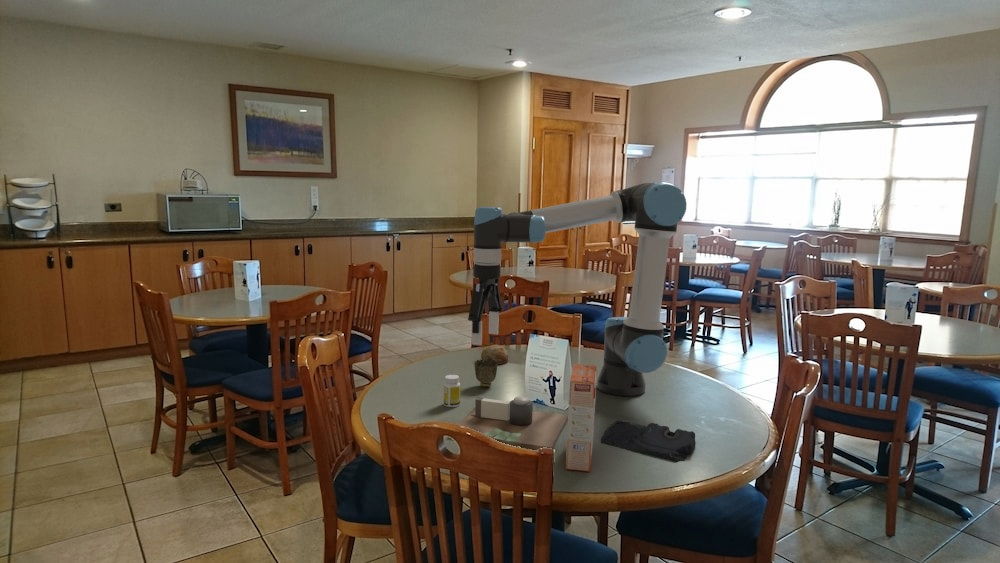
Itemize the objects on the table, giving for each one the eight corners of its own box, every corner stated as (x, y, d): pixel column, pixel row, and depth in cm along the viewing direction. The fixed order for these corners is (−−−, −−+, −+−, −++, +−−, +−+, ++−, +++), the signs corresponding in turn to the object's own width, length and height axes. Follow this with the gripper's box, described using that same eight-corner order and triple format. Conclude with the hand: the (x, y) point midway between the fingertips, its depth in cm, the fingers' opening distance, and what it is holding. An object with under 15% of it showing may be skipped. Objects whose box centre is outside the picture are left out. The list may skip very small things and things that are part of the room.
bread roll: (479, 372, 218) (478, 355, 214) (484, 353, 227) (483, 337, 222) (506, 374, 217) (505, 357, 212) (510, 355, 225) (509, 338, 221)
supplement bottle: (462, 403, 175) (463, 375, 174) (456, 408, 171) (456, 380, 170) (447, 401, 177) (447, 373, 176) (440, 406, 173) (441, 378, 171)
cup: (496, 390, 187) (497, 365, 186) (473, 390, 187) (473, 365, 186) (497, 383, 195) (498, 359, 193) (474, 382, 195) (475, 358, 193)
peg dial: (534, 418, 161) (535, 396, 160) (529, 426, 155) (529, 404, 154) (480, 411, 165) (480, 390, 164) (472, 418, 159) (473, 397, 159)
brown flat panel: (568, 419, 164) (568, 414, 164) (550, 454, 142) (550, 449, 142) (478, 408, 172) (478, 403, 172) (447, 439, 150) (447, 434, 149)
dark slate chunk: (617, 425, 163) (617, 408, 162) (700, 443, 151) (701, 425, 151) (595, 444, 150) (596, 426, 149) (685, 466, 138) (686, 447, 138)
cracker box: (592, 473, 133) (596, 382, 130) (564, 470, 134) (568, 380, 131) (593, 447, 147) (597, 364, 144) (568, 445, 148) (571, 362, 145)
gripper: (489, 258, 178) (487, 328, 181) (456, 267, 155) (455, 347, 158) (513, 260, 176) (511, 331, 179) (484, 269, 152) (482, 351, 155)
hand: (485, 339), depth 168 cm, fingers open, 13 cm apart
